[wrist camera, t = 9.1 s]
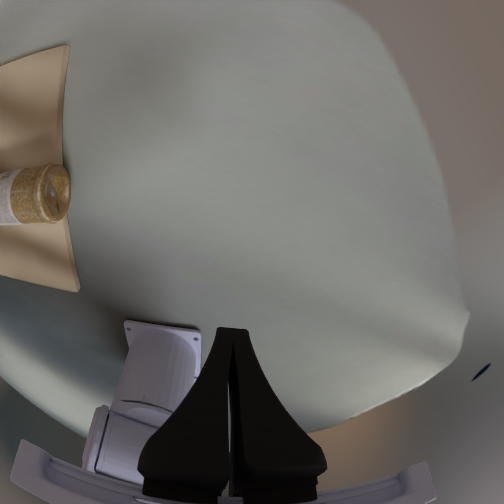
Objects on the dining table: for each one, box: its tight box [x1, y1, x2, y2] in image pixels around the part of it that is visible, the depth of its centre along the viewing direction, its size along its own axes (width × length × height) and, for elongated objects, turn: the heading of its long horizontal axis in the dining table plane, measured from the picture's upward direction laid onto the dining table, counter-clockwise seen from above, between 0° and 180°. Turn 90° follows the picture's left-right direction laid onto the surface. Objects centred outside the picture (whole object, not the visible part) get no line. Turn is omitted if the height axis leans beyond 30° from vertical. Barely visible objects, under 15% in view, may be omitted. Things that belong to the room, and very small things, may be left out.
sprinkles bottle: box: [0, 162, 71, 226], centre depth 15 cm, size 5×5×14 cm
